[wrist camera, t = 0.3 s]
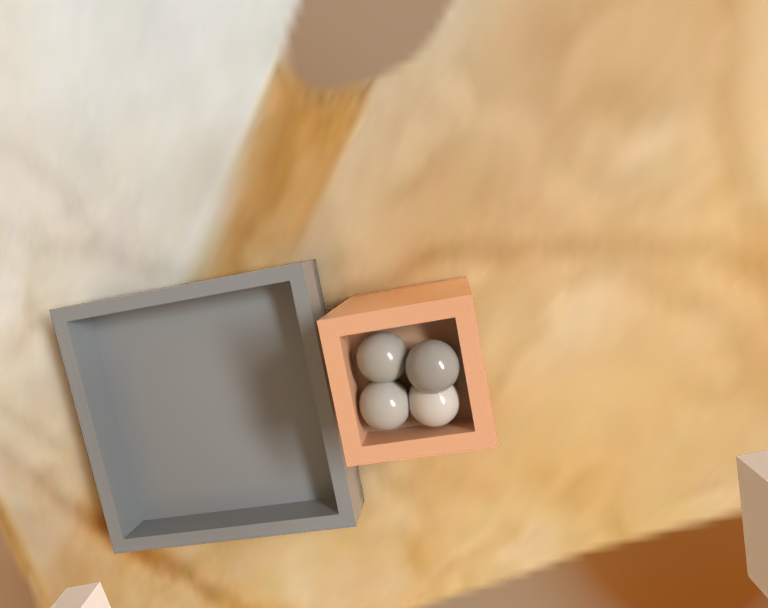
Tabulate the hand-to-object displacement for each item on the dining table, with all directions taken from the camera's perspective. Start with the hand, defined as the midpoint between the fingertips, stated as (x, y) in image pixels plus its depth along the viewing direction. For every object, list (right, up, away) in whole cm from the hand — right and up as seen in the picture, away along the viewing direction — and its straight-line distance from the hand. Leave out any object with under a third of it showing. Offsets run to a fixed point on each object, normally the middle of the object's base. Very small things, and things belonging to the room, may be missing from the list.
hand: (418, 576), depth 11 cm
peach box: (+2, +3, +26) cm, 27 cm away
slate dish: (-13, -2, +29) cm, 31 cm away
